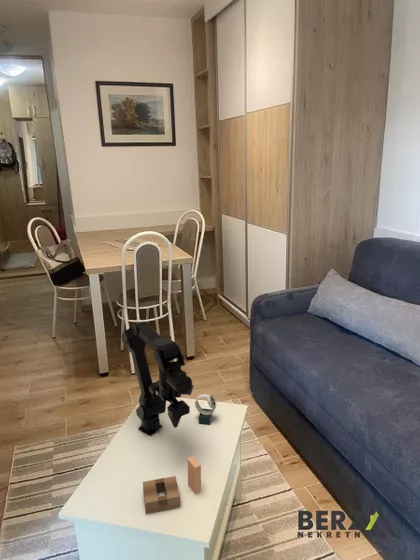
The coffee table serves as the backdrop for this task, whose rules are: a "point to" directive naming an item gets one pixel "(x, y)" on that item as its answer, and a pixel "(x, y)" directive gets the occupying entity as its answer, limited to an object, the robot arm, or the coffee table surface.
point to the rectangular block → (194, 475)
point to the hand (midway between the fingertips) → (169, 419)
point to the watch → (206, 414)
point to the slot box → (161, 502)
